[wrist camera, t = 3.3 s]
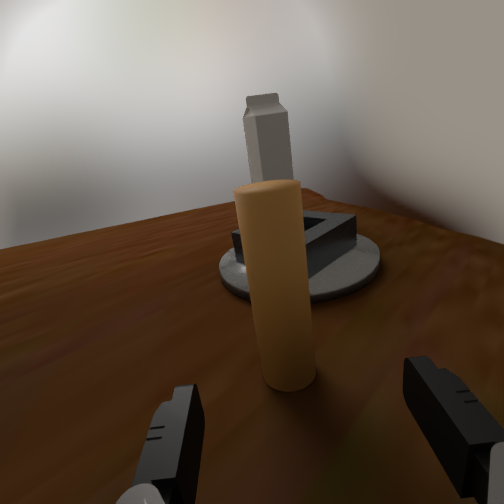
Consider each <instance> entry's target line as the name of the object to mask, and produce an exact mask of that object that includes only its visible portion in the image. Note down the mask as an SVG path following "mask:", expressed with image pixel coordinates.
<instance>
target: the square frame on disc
mask: <svg viewBox="0 0 504 504" xmlns="http://www.w3.org/2000/svg"><path fill="white" fill-rule="evenodd" d="M303 222H304V233H305V245H306V257H307V269H308V281H309V293H310V304H311V303H317V302H323V301H328V300H332V299H336V298H339V297H342V296H345V295H348V294H351V293H353V292H355V291H357V290H359V289H361V288H363V287H364V286H366V285H367V284H369V283H370V282H371V281H372V280H373V279H374V278H375V277H376V276H377V274H378V272H379V268H380V250H379V248H378V246H377V245H376V244H375V243H374V242H373V241H371V240H370V239H368V238H366V237H364V236H362V235H359V234H357V229H356V215H350V214H339V213H328V212H316V211H305V210H303ZM231 233H232V239H233V245H234V247H233V248H232V249H230V250H229V251H228V252H227V253H226V254H225V255H224V256H223V257H222V259H221V261H220V264H219V269H220V274H221V279H222V282H223V284H224V286H225V287H226V288H227V289H228V290H229V291H230V292H232V293H234V294H235V295H237V296H239V297H242V298H244V299H247V300H251V298H250V291H249V285H248V279H247V273H246V266H245V260H244V254H243V248H242V242H241V235H240V229H238V230H236V231H234V232H231Z"/></svg>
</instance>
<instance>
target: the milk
mask: <svg viewBox="0 0 504 504" xmlns="http://www.w3.org/2000/svg"><path fill="white" fill-rule="evenodd" d="M246 103H247V108H246V111H245V114H244V116H243V123H244V131H245V138H246V145H247V151H248V159H249V167H250V174H251V181H252V183H257V182H263V181H270V180H294V179H293V169H292V156H291V146H290V135H289V125H288V124H289V123H288V112H287V110H286V109H285V108H284V107H283V106H282V105H281V104H280V103H279V97H278V94H277V93H272V94H263V95H255V96H247V97H246Z"/></svg>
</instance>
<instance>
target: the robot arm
mask: <svg viewBox="0 0 504 504" xmlns="http://www.w3.org/2000/svg"><path fill="white" fill-rule="evenodd" d="M403 395H404V399H405V402H406V404H407V406H408V408H409V410H410V411H411V413H412V415H413V417H414V418H415V420H416V422H417V424H418V425H419V427H420V429H421V430H422V432H423V434H424V436H425V437H426V439H427V441H428V442H429V444H430V446H431V448H432V449H433V451H434V453H435V455H436V456H437V458H438V460H439V461H440V463H441V465H442V467H443V468H444V470H445V472H446V474H447V475H448V477H449V479H450V480H451V482H452V484H453V486H454V487H455V489H456V491H457V493H458V494H459V496H460V498H469V497H474V498H475V500H476V501H477V503H478V504H504V429H503V428H502V427H501V426H500V425H499V424H498V422H497V421H496V420H495V419H494V418H493V417H492V415H491V414H490V413H489V412H488V411H487V409H486V408H485V407H484V406H483V405H482V404H481V402H479V401H478V399H477V398H476V397H475V395H474V394H473V393H472V392H470V389H469V388H468V387H467V386H466V385H465V384H464V382H463V381H462V380H461V379H460V378H459V377H458V376H456V375H455V374H453V373H452V372H450V371H449V370H447V369H446V368H442V369H438V368H437V367H436V366H435V365H434V363H433V362H432V361H431V359H430V358H429V357H428V356H418V357H410V358H405V360H404V371H403ZM204 430H205V418H204V412H203V408H202V404H201V400H200V396H199V392H198V388H197V385H196V384H188V385H180V386H176V387H175V390H174V393H173V397H172V401H168V402H163V403H162V404H161V405H160V407H159V408H158V409H157V411H156V412H155V413H154V415H153V419H152V422H151V425H150V430H149V432H148V435H147V438H146V439H147V440H146V441H145V444H144V448H143V451H142V454H141V457H140V460H139V464H138V467H137V470H136V473H135V476H134V480H133V483H132V485H131V488H130V489H129V490H127V491H126V492H125V493H124V494H123V495H122V496H121V497H120V498H119V500H118V501H117V503H116V504H195V499H196V492H197V484H198V476H199V469H200V461H201V453H202V446H203V438H204Z"/></svg>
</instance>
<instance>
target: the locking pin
mask: <svg viewBox="0 0 504 504" xmlns="http://www.w3.org/2000/svg"><path fill="white" fill-rule="evenodd" d="M234 198H235V204H236V210H237V217H238V223H239V229H240V235H241V242H242V248H243V254H244V260H245V266H246V273H247V279H248V285H249V291H250V298H251V304H252V310H253V316H254V323H255V329H256V335H257V341H258V348H259V354H260V360H261V366H262V372H263V378H264V380H265V382H266V383H267V384H268V385H269V386H270V387H272V388H274V389H276V390H279V391H284V392H293V391H298V390H301V389H303V388H305V387H307V386H308V385H310V384H311V383H312V381H313V380H314V378H315V376H316V364H315V352H314V340H313V328H312V317H311V305H310V293H309V281H308V269H307V257H306V245H305V233H304V222H303V210H302V198H301V186H300V182H299V181H297V180H270V181H263V182H257V183H252V184H248V185H245V186H242V187H239V188H237V189H235V190H234Z"/></svg>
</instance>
